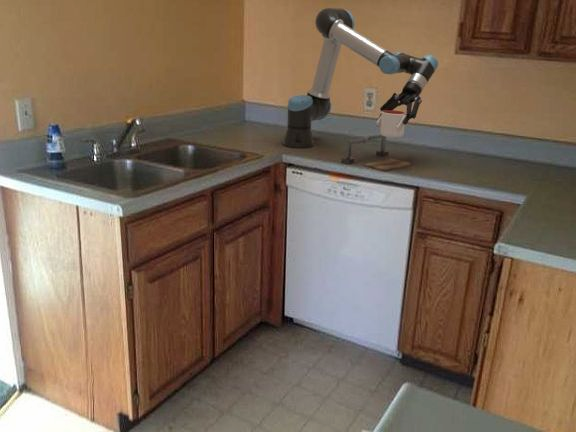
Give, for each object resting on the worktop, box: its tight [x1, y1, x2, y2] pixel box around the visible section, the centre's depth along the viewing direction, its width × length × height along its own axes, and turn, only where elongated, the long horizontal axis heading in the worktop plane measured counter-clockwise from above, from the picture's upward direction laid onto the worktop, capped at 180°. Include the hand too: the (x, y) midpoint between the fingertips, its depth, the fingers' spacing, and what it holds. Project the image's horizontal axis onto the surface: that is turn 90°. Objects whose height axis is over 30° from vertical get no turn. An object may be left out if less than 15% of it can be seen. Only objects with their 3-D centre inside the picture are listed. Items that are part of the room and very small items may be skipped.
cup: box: [379, 109, 407, 139], centre depth 230 cm, size 10×10×10 cm
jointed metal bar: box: [341, 134, 389, 165], centre depth 244 cm, size 5×28×10 cm, turn 132°
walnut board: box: [364, 158, 412, 172], centre depth 236 cm, size 11×18×1 cm, turn 132°
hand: (388, 127), depth 228 cm, fingers closed on cup, 10 cm apart
